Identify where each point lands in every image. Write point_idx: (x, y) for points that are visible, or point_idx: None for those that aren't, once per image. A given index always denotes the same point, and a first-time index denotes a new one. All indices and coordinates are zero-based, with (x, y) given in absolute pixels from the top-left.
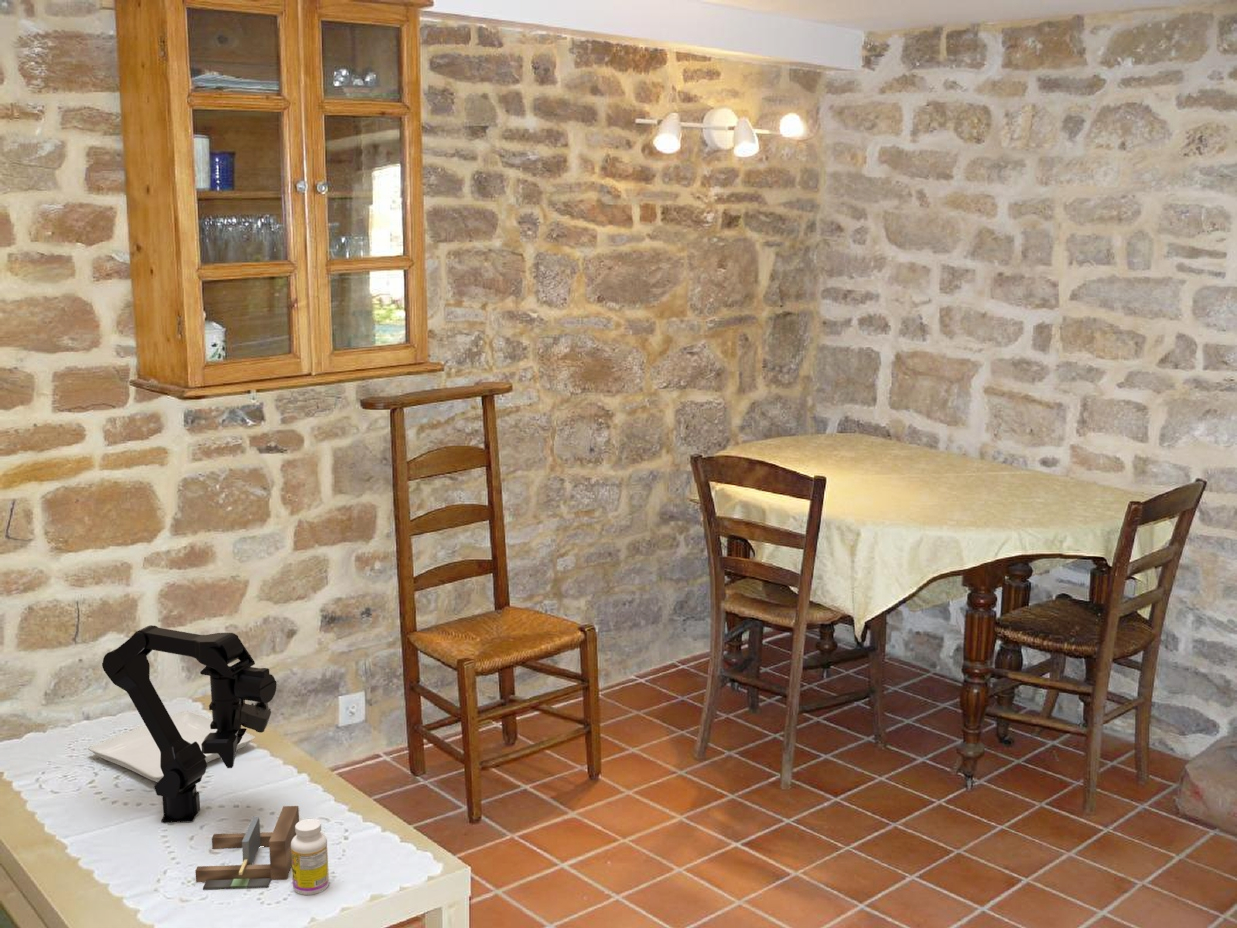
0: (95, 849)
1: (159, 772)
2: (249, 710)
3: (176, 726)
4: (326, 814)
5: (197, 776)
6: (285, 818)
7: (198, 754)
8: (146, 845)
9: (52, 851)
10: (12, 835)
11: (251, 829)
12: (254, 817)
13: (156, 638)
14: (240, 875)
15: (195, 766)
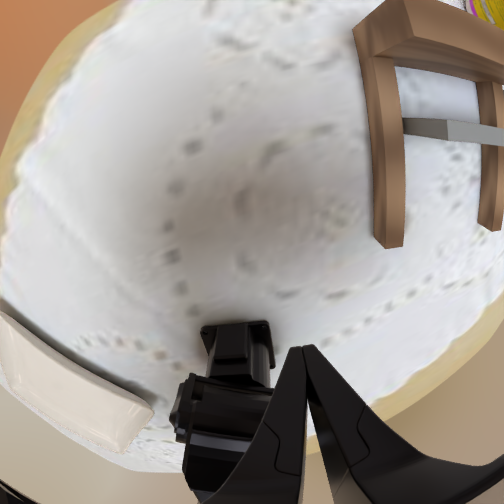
0: None
1: (117, 400)
2: None
3: (30, 391)
4: (188, 7)
5: (246, 399)
6: (475, 35)
7: (210, 453)
8: (357, 352)
9: None
10: (307, 454)
11: (500, 134)
12: (451, 135)
13: None
14: None
15: (248, 430)
